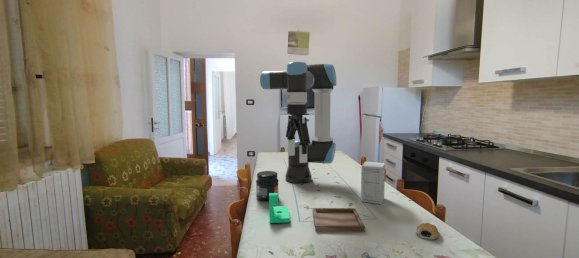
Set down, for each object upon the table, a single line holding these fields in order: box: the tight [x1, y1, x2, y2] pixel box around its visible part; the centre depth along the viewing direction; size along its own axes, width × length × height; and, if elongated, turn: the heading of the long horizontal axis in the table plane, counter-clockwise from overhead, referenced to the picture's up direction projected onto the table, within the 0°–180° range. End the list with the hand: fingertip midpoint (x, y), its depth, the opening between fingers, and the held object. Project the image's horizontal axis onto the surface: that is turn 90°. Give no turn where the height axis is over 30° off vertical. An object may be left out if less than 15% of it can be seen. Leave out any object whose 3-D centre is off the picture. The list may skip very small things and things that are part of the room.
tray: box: [312, 207, 366, 233], centre depth 108 cm, size 16×17×2 cm
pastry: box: [415, 222, 440, 241], centre depth 98 cm, size 9×7×4 cm
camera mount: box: [268, 192, 291, 224], centre depth 111 cm, size 12×8×10 cm, turn 5°
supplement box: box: [360, 161, 386, 205], centre depth 130 cm, size 10×9×17 cm
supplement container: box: [255, 170, 279, 202], centre depth 133 cm, size 10×10×12 cm
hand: (297, 158), depth 110 cm, fingers open, 13 cm apart
